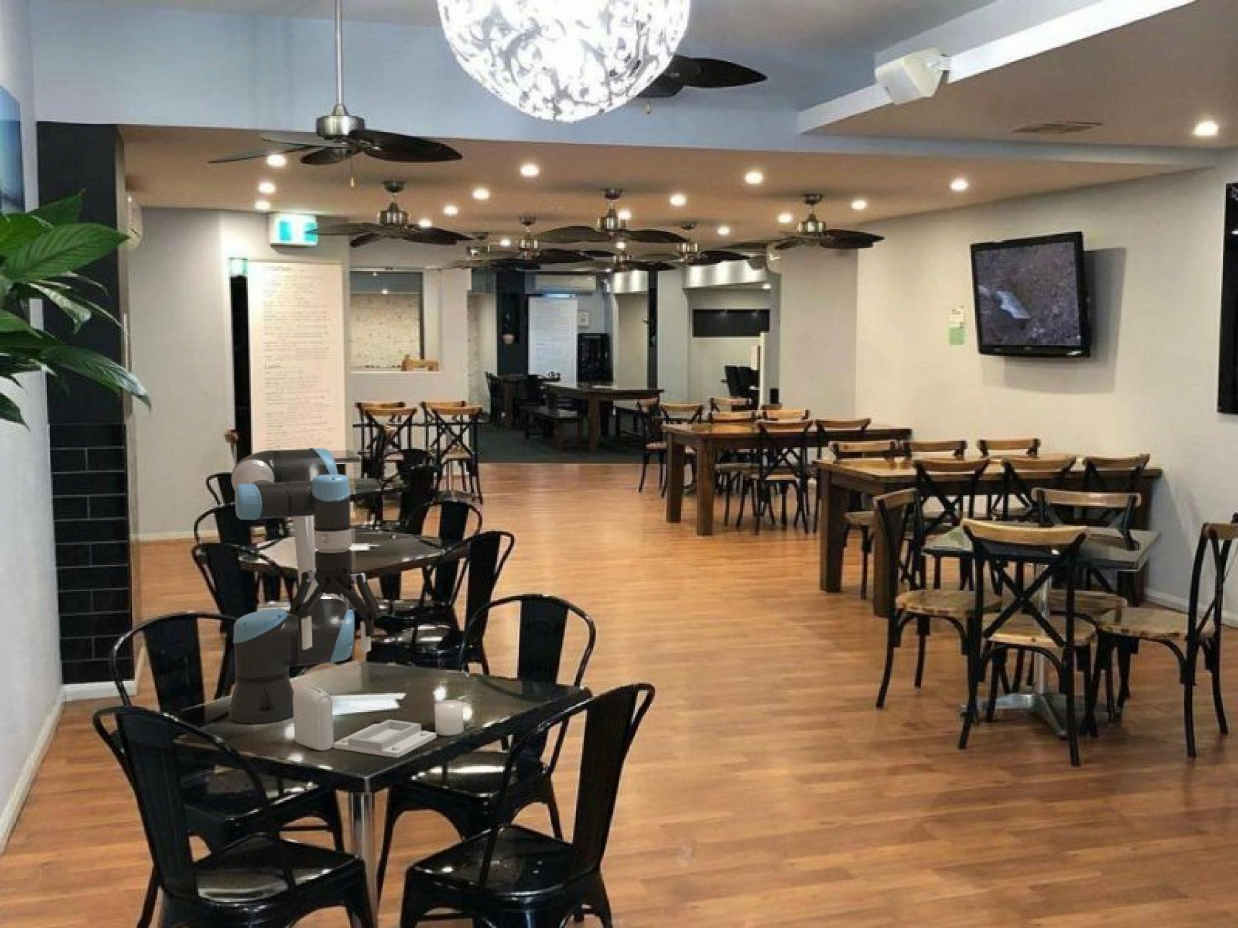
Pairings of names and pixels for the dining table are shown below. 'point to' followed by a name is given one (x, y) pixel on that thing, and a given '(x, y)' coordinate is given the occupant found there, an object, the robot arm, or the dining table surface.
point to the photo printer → (313, 718)
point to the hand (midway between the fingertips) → (336, 649)
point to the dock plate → (386, 739)
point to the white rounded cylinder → (449, 717)
